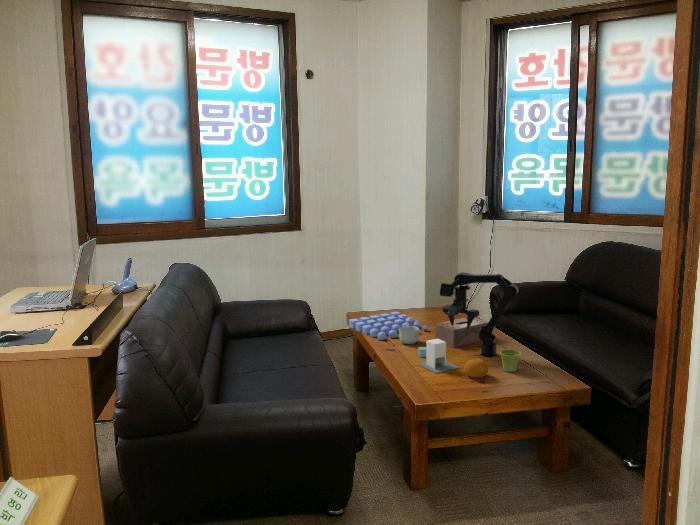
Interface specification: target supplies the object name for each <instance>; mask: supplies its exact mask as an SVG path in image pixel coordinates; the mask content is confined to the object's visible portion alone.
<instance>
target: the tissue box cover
mask: <svg viewBox="0 0 700 525" xmlns="http://www.w3.org/2000/svg"><path fill="white" fill-rule="evenodd" d="M488 322H489V321H486V320H483V319H480V318H477V317H475V318H474V320H473V321H472V323H471V325H470V327H469V329H467V318H466V317H460V318H457V319H456V318H455V319H454V325H453V326H452V325H451V323H450V320H448V321H442V322H438V323H435V328H434V330H435V334H434V339H440V340H442V341H445V342H446V347H451V348H453V349H454V348H458V347H462V346H466V345H467V346H468V345H471V344H475V343H478V342H479V343H480V342H482V340H480V338H479V333H480V332H479V330H480V329H481V328H482V325H483V324H484V323H486V324H487V323H488Z"/></svg>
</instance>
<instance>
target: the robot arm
mask: <svg viewBox="0 0 700 525" xmlns="http://www.w3.org/2000/svg"><path fill="white" fill-rule="evenodd" d="M478 283H479V284H489V283H490V284H493V283H494V284H497V285H498V286H499V287H500V289H501V290H502V291H503V294H502V298H501V300H500V302H499V304H498V305H497V307H496V309H495V311H494V313H492V316H491V317H490V319H489V321H487V322H488V323H487V324H486V323H484V324H483V325H482V328H481V329H480V330H479V332H480V333H479V338H480V340H482V341H481V342H482V343H481V345H480V346H481V350H480V351H481V353H480V356H483V357H488V358H494V357H497V356H498V355H499V353H497V342H496V341H497V336H496V335H495V334H494V331H495V328H496V325H497V323H498V321H499V320H500V318H501V316H502V315H503V314H504V311H505V310H506V308H507V307H508V305H509V303H510V302H512V300H514V298H515V297H516V296H517V295H518V292H519V286H518V285H516V284H515V283H512V282H511V280H509V279H508V278H505V277H504V276H503V275H502V274H501V273H497V274H491V273H490V274H474V273H473V274H472V273H469V272H465V271H464V272H463V271H462V272H459V273H457V274H456V276H455V277H454V281H453V282H452V283H445V282H441V283H440V287H439V288H440V290H439V296H440V297H445V298H447V297H449V298H452V297H453V296H454V299H453V301H452V304H446V305H443V306H442V308H441V312H442V313H444V314H445V315H446V316H448V317H447V318H448V319H449V320H448V321H450V323H451V325H452V326H453V325H454V320H455V316H458V315H459V313H460V314H465V315H466V316H465V318H467V329H469V327H470V325H471V323H472V321H473V320H474V318H477V317H480V311H479V310H478V309H474V308H472V309H469V308H468V306H467V302H468V300H469V299H468V298H467V294H468V292H467V291H470V290H471V289H472V288H471V286H470V284H478ZM468 309H469V310H468Z"/></svg>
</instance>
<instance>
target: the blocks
mask: <svg viewBox="0 0 700 525" xmlns="http://www.w3.org/2000/svg"><path fill="white" fill-rule="evenodd" d="M406 326H414V327H418V328H419V329H421V330H422V331H424V332H426V331H427V330H428V329H429V326H428V325H427V324H426V323H425V324H424V325H422V323H421V322H420V321H419V320H418V319H417V320H415V319H414V318H413V317H412V316H408V315H407V314H404V313H403V314H402V313H401V312H399V311H396V310H395V311H391V312H390V314H389V313H387V312H386V313H380V314H379V315H377V314H375V315H370V316H369V317H367V316H362V317H359V319H358V318H352V319H350V318H349V319H348V328H351V329H352V330H353V329H354V330H355V331H357V332H362V334H364V335H369V336H370V337H371V338H377V339H378V340H379V341H385V340H386V339H387V336H388V338H390V339H395V338H397V336H398V334H399V329H400V328H401V327H406ZM421 327H422V328H421Z"/></svg>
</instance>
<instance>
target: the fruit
mask: <svg viewBox="0 0 700 525" xmlns="http://www.w3.org/2000/svg"><path fill="white" fill-rule="evenodd" d="M463 368H464V372H465V374H466V375H467V376H468V377H471V378H475V379H480V378H483V377H485V376H486V375H487V374H488V372H489V366H488V363H487V362H485V360H484V359H482V358H472V359H469V360H467V361H466V362H465V363H464V367H463Z"/></svg>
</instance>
